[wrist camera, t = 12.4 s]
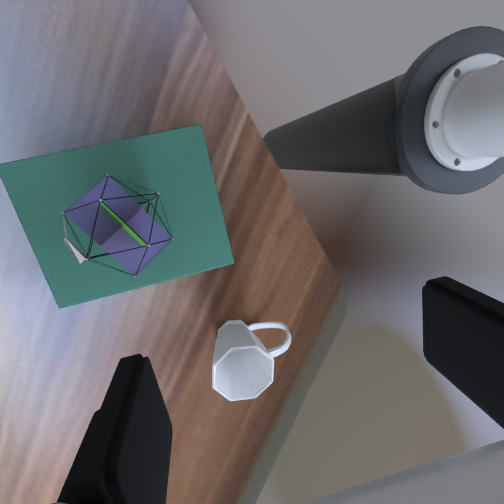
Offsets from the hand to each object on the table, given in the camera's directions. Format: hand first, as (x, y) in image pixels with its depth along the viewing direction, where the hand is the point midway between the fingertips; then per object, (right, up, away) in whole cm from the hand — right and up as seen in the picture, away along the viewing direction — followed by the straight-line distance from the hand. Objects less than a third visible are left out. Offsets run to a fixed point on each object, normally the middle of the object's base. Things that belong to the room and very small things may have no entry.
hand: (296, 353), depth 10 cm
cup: (-3, -7, +30) cm, 31 cm away
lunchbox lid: (-12, +6, +17) cm, 22 cm away
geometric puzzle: (-12, +6, +17) cm, 21 cm away
